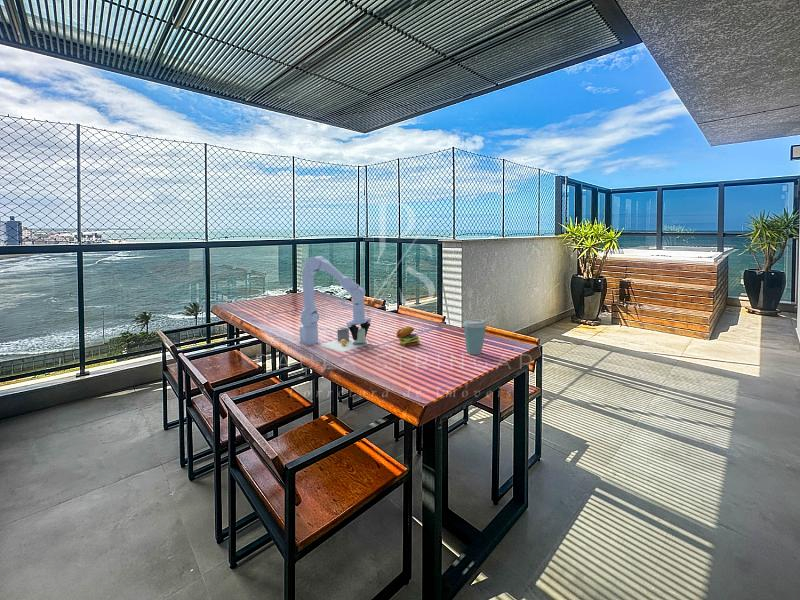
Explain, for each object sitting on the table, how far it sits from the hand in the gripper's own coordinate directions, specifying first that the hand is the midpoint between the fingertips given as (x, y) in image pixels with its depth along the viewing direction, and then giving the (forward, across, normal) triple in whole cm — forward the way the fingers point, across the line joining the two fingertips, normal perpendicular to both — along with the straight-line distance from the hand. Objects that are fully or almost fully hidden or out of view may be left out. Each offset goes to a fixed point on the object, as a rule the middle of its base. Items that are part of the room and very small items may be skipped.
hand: (359, 338), depth 187 cm
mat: (+3, -6, +5) cm, 8 cm away
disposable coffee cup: (+3, +23, -51) cm, 56 cm away
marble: (+1, -7, +4) cm, 8 cm away
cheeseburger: (+3, +15, -18) cm, 24 cm away
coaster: (+2, 0, 0) cm, 2 cm away
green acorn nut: (+1, 0, 0) cm, 1 cm away
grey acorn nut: (+2, -1, +11) cm, 11 cm away
